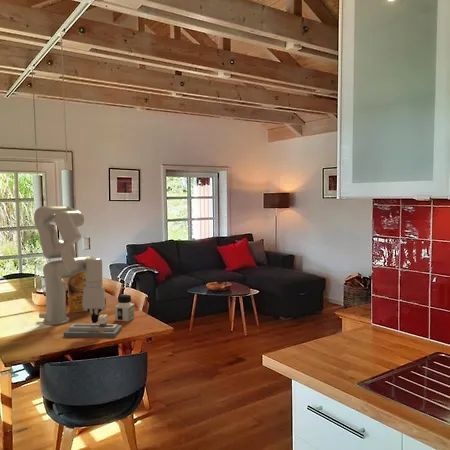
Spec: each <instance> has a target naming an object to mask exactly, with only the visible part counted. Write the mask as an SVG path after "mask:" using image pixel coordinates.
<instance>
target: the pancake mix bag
mask: <svg viewBox="0 0 450 450" xmlns="http://www.w3.org/2000/svg"><path fill="white" fill-rule="evenodd" d="M65 279H66V286H67V293H68V300H69V309H68V314H69V313H73V314H76V313H85V312H87V311H86V310H83V305H82V303H83V291H84V287H86V285H85V284H83V282H85V281H86V272H81V273H77V274H76V275H75V276H73V277H68V278H65ZM94 311H96V309H94Z"/></svg>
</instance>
